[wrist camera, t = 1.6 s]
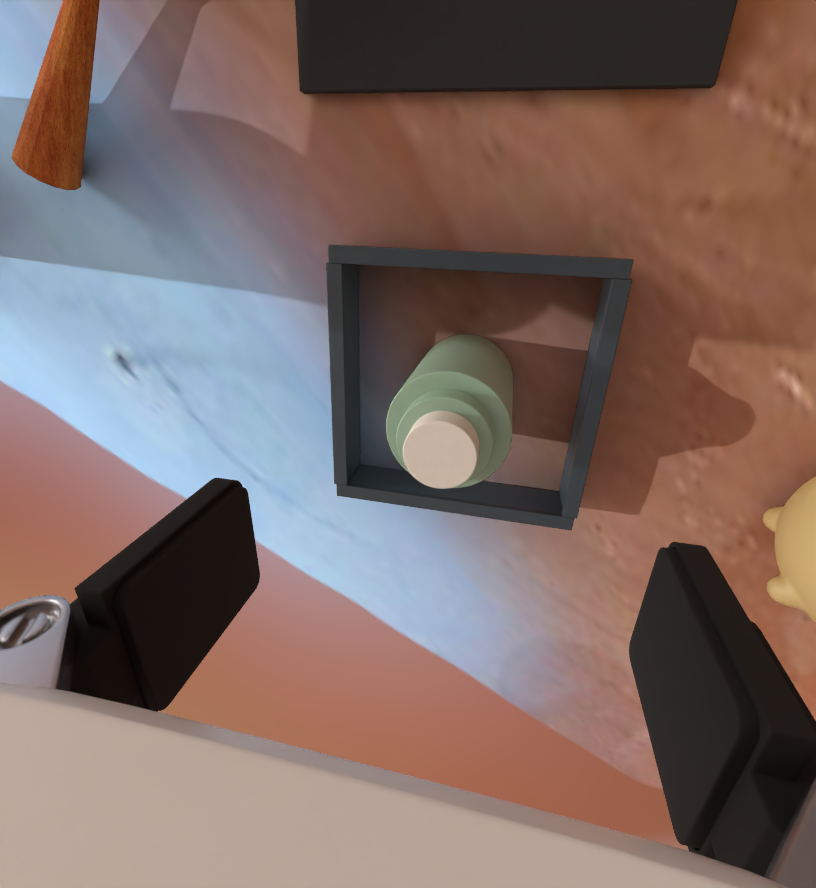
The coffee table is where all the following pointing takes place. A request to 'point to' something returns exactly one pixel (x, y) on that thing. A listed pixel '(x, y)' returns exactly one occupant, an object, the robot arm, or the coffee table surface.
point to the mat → (509, 44)
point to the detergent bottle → (454, 414)
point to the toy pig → (795, 550)
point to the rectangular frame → (483, 495)
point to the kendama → (61, 101)
